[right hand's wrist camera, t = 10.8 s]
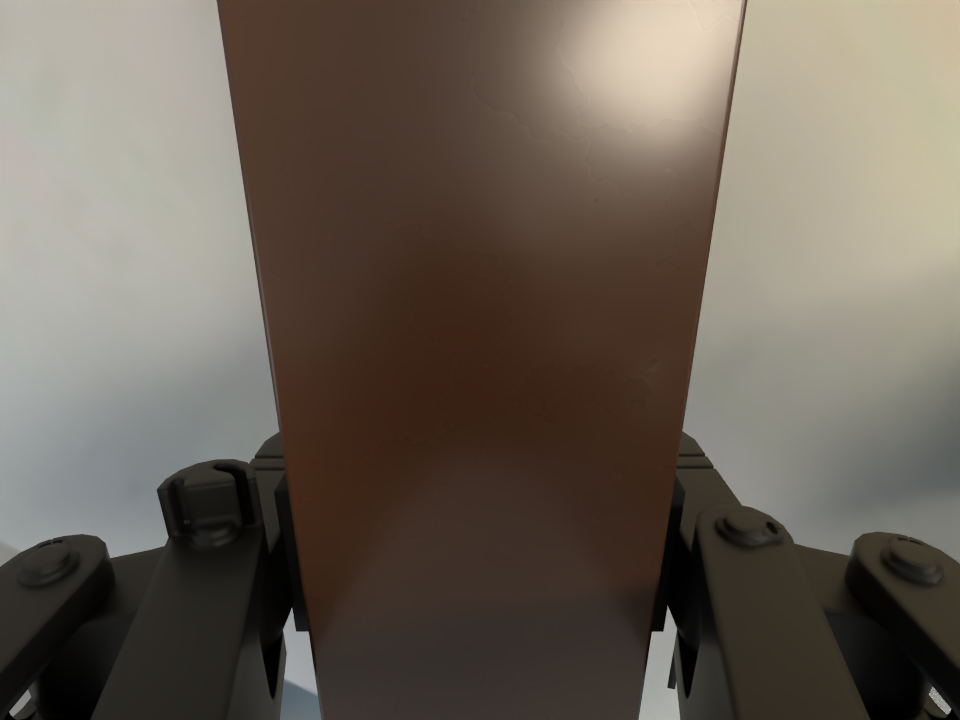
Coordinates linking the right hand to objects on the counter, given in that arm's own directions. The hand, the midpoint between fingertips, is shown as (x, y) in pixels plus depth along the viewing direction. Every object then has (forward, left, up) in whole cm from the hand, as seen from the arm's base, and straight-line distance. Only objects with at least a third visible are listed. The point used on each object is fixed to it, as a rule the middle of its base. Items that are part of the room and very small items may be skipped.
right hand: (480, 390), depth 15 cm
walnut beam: (0, -12, 0) cm, 12 cm away
